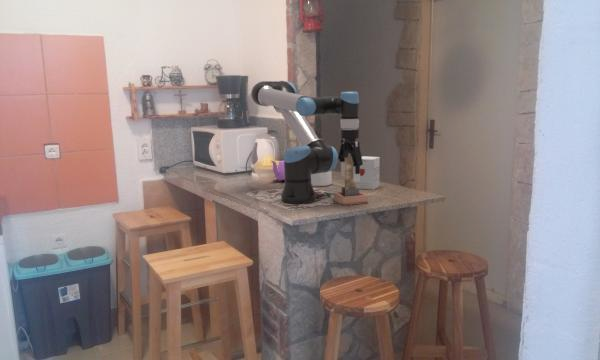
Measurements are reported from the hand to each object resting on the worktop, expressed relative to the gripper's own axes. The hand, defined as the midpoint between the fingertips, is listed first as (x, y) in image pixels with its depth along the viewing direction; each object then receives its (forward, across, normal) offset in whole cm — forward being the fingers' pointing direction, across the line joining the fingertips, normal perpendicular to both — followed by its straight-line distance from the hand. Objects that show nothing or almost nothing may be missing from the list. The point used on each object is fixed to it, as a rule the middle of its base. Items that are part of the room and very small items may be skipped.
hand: (350, 178), depth 206 cm
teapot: (+10, +60, +11) cm, 62 cm away
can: (+10, +43, -2) cm, 45 cm away
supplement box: (+10, +25, -21) cm, 34 cm away
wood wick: (+9, 0, 0) cm, 9 cm away
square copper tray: (+10, 0, 0) cm, 10 cm away
